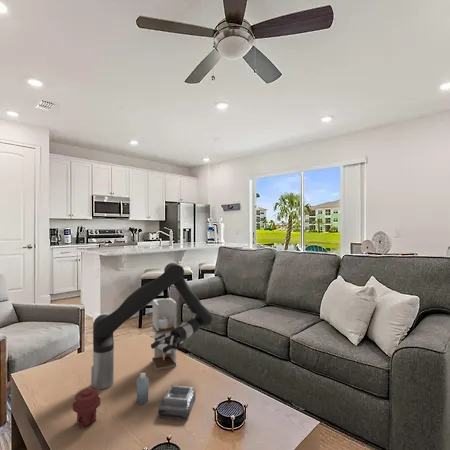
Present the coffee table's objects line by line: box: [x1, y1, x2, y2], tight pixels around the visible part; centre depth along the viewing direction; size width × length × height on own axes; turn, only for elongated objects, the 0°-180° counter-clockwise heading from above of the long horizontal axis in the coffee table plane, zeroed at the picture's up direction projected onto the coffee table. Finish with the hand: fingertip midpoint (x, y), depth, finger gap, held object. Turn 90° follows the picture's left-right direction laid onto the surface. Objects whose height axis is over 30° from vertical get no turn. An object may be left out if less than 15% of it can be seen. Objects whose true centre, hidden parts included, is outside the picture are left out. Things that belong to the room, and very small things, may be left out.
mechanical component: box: [72, 388, 101, 428], centre depth 121 cm, size 12×10×10 cm
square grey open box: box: [157, 384, 196, 421], centre depth 130 cm, size 12×14×6 cm
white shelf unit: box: [151, 297, 178, 371], centre depth 170 cm, size 11×11×35 cm
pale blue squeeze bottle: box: [136, 372, 150, 405], centre depth 136 cm, size 5×5×12 cm
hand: (157, 348), depth 143 cm, fingers open, 8 cm apart
